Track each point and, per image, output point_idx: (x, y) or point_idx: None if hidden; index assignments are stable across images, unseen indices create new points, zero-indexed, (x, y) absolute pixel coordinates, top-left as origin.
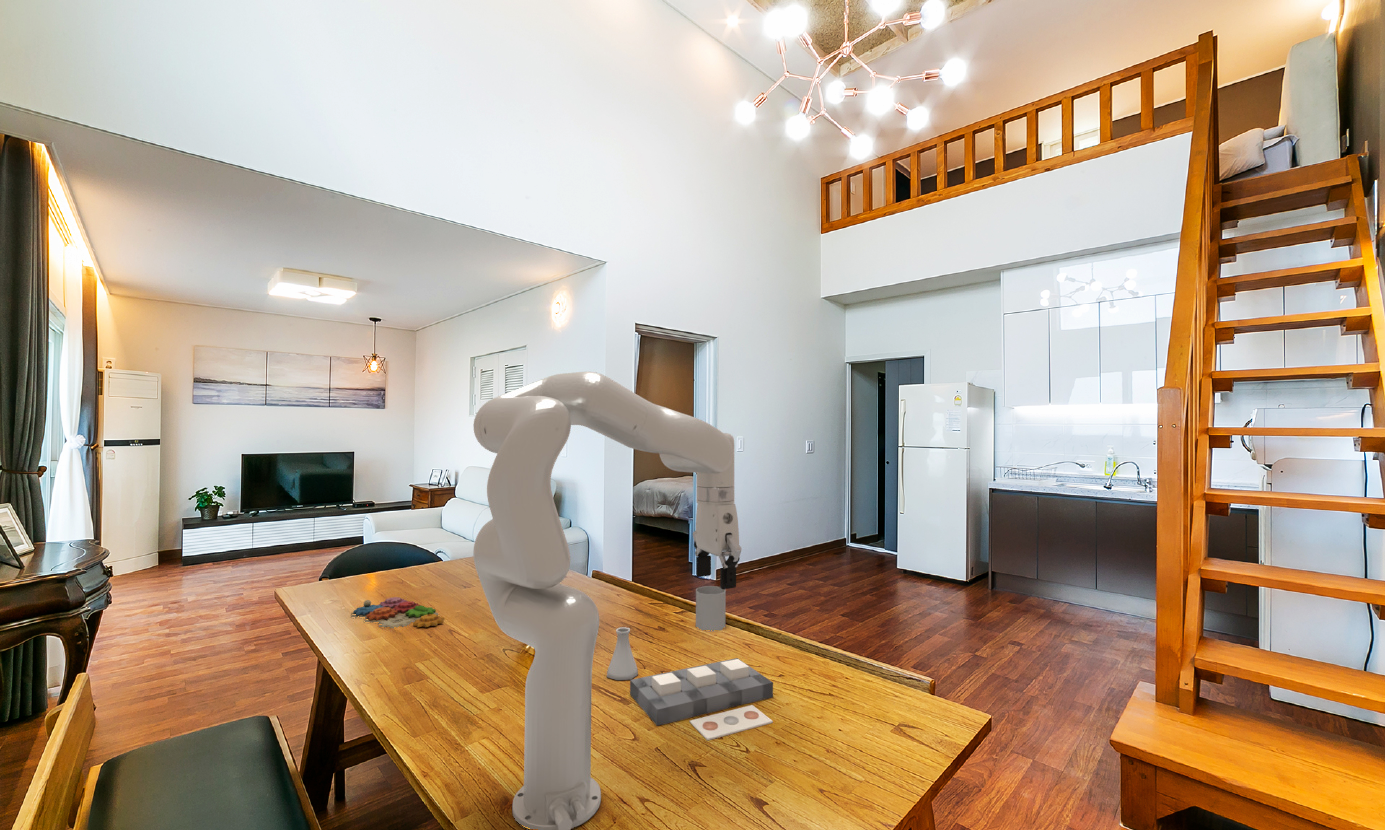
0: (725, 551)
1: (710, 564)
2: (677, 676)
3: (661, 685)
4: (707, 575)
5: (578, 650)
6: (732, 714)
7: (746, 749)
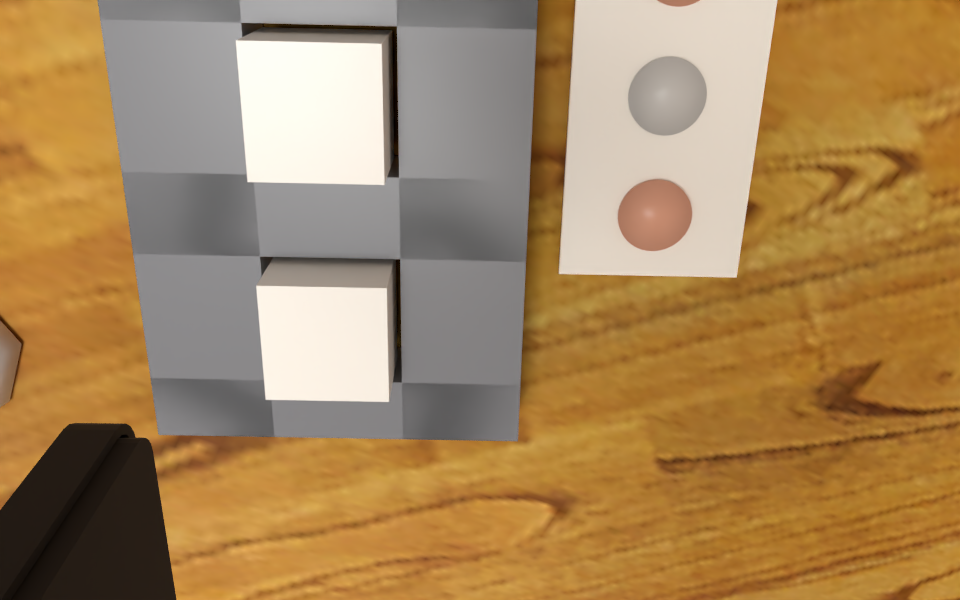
0: None
1: (50, 590)
2: (207, 201)
3: (389, 397)
4: (159, 497)
5: None
6: (614, 52)
7: (893, 159)
